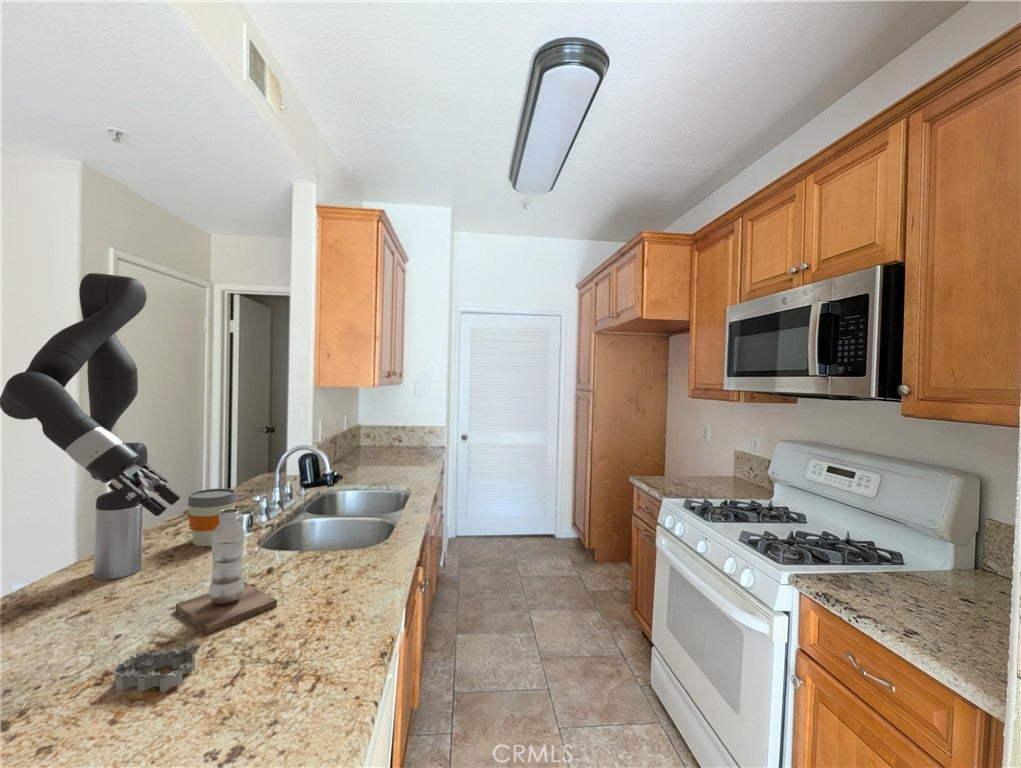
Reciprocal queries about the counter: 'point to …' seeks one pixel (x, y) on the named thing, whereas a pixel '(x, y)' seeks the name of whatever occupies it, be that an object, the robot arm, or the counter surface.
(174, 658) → the metal cookie cutter
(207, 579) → the counter surface
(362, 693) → the counter surface
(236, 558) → the plastic bottle
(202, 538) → the reusable coffee cup
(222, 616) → the walnut board
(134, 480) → the robot arm
